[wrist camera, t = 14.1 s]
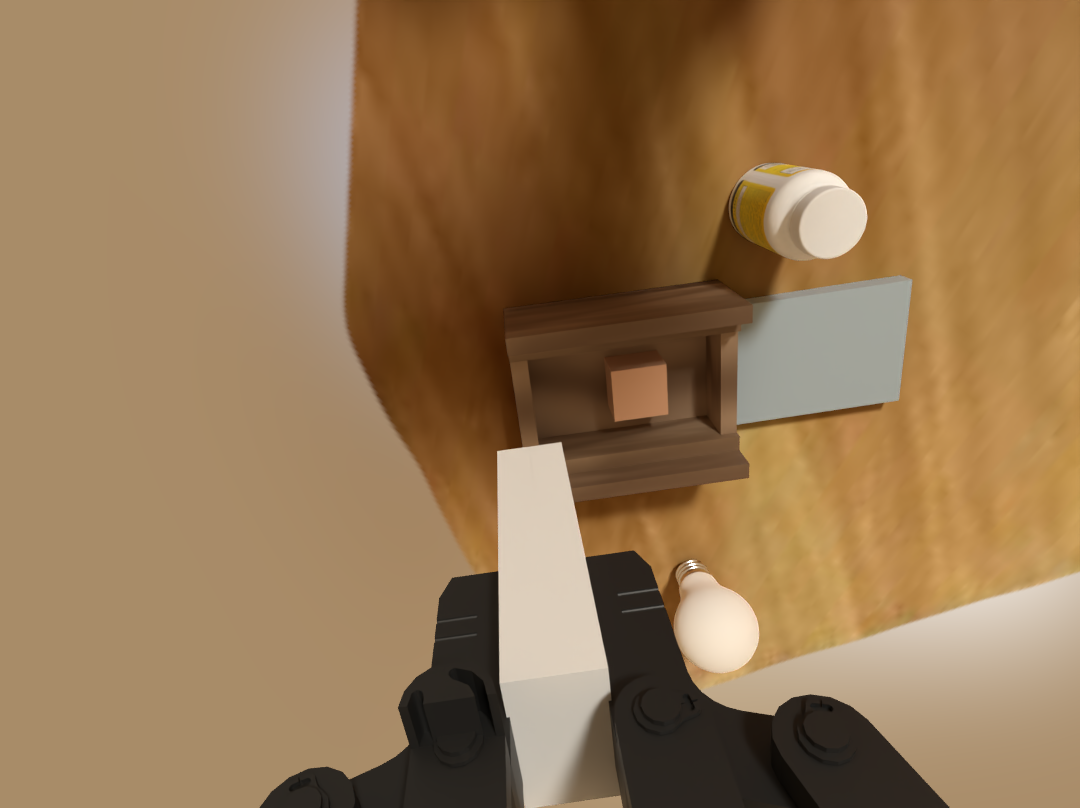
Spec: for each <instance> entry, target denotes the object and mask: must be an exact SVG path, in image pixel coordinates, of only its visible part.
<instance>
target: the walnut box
mask: <svg viewBox="0 0 1080 808" xmlns="http://www.w3.org/2000/svg"><path fill="white" fill-rule="evenodd" d="M749 323H753V305H752V304H751V303H749V302H748V301H747V300H745V299H744V298H742V297H741V296H740V295H738V294H737V293H735V292H734V291H733V290H731V289H730V288H728V287H727V286H726V285H724V284H723V283H722V282H720V281H719V280H711V281H703V282H696V283H689V284H681V285H674V286H667V287H659V288H652V289H645V290H637V291H630V292H623V293H615V294H608V295H601V296H594V297H586V298H579V299H572V300H564V301H557V302H550V303H542V304H535V305H528V306H520V307H513V308H506V309H504V327H505V342H506V348H507V355H508V357H509V362H510V367H511V373H512V380H513V386H514V393H515V400H516V406H517V413H518V419H519V426H520V433H521V439H522V446H523V447H530V446H538V445H545V444H552V443H559V442H561V443H562V448H563V453H564V458H565V462H566V467H567V472H568V477H569V482H570V486H571V491H572V496H573V501H574V502H580V501H587V500H594V499H602V498H609V497H616V496H623V495H630V494H637V493H644V492H652V491H659V490H666V489H673V488H680V487H687V486H694V485H702V484H709V483H716V482H723V481H730V480H737V479H744V478H749V463H748V461H747V460H746V459H745V457H744V456H743V455H742V453H741V452H740V451H739V438H740V436H739V435H738V434H737V371H738V331H741V325H742V324H749ZM654 350H657V351H658V353H659V354H660V356H661V357H662V359H663V360H664V361H665V363H666V366H667V392H668V414H667V415H660V416H653V417H646V418H638V419H631V420H624V421H617V422H615V421H614V418H613V416H612V413H611V411H610V408H609V406H608V397H607V385H606V373H605V361H604V357H610V356H617V355H624V354H632V353H639V352H646V351H654Z"/></svg>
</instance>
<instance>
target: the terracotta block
mask: <svg viewBox="0 0 1080 808" xmlns="http://www.w3.org/2000/svg"><path fill="white" fill-rule="evenodd" d="M604 361H605V373H606V385H607V397H608V406H609V408H610V411H611V413H612V416H613V418H614V421H615V422H617V421H624V420H631V419H638V418H646V417H653V416H660V415H667V414H668V392H667V366H666V363H665V361H664V360H663V359H662V357H661V356H660V354H659V353H658V351H657V350H654V351H646V352H639V353H632V354H624V355H617V356H610V357H604Z"/></svg>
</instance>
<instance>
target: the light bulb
mask: <svg viewBox="0 0 1080 808" xmlns="http://www.w3.org/2000/svg"><path fill="white" fill-rule="evenodd" d="M675 577H676V580H677V582H678V585H679V594H680V598H681V599H680V603H679V605H678V608H677V610H676V613H675V617H674V634H675V637H676V640H677V643H678V646H679V648H680V650H681V651H682V653H683V654H684V655H685V657H686V658H687V659H688V660H689V661H690V662H691V663H693V664H694V665H696V666H697V667H699V668H701V669H703V670H706V671H709V672H713V673H727V672H731V671H734V670H737V669H739V668H740V667H742V666H744V665H745V664H746V663H747V662H748V661H749V660H750V659H751V658H752V656H753V654H754V652H755V650H756V648H757V645H758V640H759V626H758V622H757V618H756V616H755V613H754V612H753V610H752V608H751V607H750V605H749V604H748V603H747V602H746V600H745V599H744V598H742V597H741V596H740V595H739V594H737V593H736V592H734V591H732V590H730V589H727V588H725V587H723V586H721V585H719V584H718V583H717V581H716V580H715V579H714V577H713V576H711V575H710V573H709V570H708V568H707V567H706V566H705V565H704V564H703V563H702V562H701V561H699V560H697V559H690V560H687V561H685V562H683V563H682V564H681V565H679V566H678V568H677V570H676V575H675Z"/></svg>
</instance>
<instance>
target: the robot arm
mask: <svg viewBox="0 0 1080 808" xmlns="http://www.w3.org/2000/svg"><path fill="white" fill-rule="evenodd" d="M497 469H498V571H497V572H490V573H483V574H476V575H469V576H462V577H455V578H452V579H451V581H450V582H449V584H448V585H447V587H446V589H445V590H444V592H443V593H442V595H441V597H440V598H439V606H438V615H437V624H436V632H435V643H434V649H433V659H432V667H431V668H430V669H428V670H427V671H426V672H424V673H422V674H421V675H419V676H418V677H416V678H415V679H414V681H413V682H412V683H411V684H410V685H409V686H408V688H407V689H406V690H405V691H404V694H403V696H402V699H401V701H400V704H399V707H398V709H399V712H400V715H401V719H402V722H403V725H404V729H405V732H406V735H407V738H408V741H409V745H408V747H406V748H405V749H404V750H403V751H402V752H401V753H400V754H398V755H397V756H396V757H394V758H393V759H391V760H389V761H387V762H386V763H384V764H382V765H380V766H378V767H376V768H374V769H371V770H370V771H367V772H365V773H363V774H361V775H358V776H356V777H354V778H352V779H350V780H349V779H348V778H347V777H346V776H345V774H344V773H343V772H341V771H338V770H335V769H332V768H329V767H320V768H311V769H307V770H305V771H303V772H300V773H298V774H296V775H294V776H292V777H289V778H288V779H287V780H286V781H284V782H283V783H282V784H281V785H279V786H278V787H277V788H276V789H274V790H273V791H272V792H271V793H270V795H269V796H268V797H267V799H266V800H265V801H264V803H263V804H262V805H261V806H260V808H524V804H525V808H536V807H543V806H550V805H557V804H564V803H570V802H577V801H584V800H590V799H598V798H605V797H612V796H619V795H621V799H622V804H623V808H949V806H948V805H947V804H946V803H945V802H944V801H943V800H942V799H941V798H940V797H939V796H938V795H937V794H936V793H935V791H933V789H932V788H931V787H930V786H929V785H928V784H927V783H926V782H925V781H924V780H923V779H922V777H921V776H920V775H919V774H918V773H917V772H916V771H915V770H914V769H913V768H912V767H911V766H910V765H909V764H908V762H907V761H905V759H904V758H903V757H902V756H901V755H900V754H899V753H898V752H897V751H896V750H895V748H893V746H892V745H891V744H890V743H889V742H888V741H887V740H886V739H885V738H884V737H883V736H882V735H881V734H880V732H879V731H878V730H877V729H876V728H875V727H874V726H873V725H872V724H871V723H870V722H869V721H868V720H867V719H866V718H865V717H864V716H862V715H861V714H860V713H859V712H857V711H856V710H855V709H854V708H852V707H851V706H849V705H847V704H844V703H842V702H840V701H838V700H835V699H833V698H831V697H825V696H817V695H805V696H799V697H793V698H791V699H790V700H788V701H787V702H785V703H784V704H782V705H781V706H779V708H778V710H777V712H776V714H775V716H772V715H765V714H759V713H752V712H746V711H741V710H736V709H733V708H729V707H726V706H724V705H721V704H719V703H717V702H715V701H713V700H712V699H710V698H709V697H708V696H706V695H705V694H704V693H702V692H701V691H700V690H699V688H698V687H697V686H696V685H695V684H694V683H693V681H692V679H691V677H690V675H689V673H688V672H687V669H686V666H685V663H684V660H683V657H682V655H681V652H680V649H679V646H678V643H677V640H676V637H675V635H674V632H673V629H672V626H671V623H670V620H669V617H668V615H667V612H666V609H665V608H664V603H663V600H662V597H661V594H660V592H659V591H658V586H657V583H656V580H655V577H654V574H653V572H652V569H651V566H650V565H649V564H648V563H646V562H645V561H644V560H643V559H642V558H641V557H640V556H639V555H638V554H637V553H636V552H635V551H627V552H620V553H613V554H606V555H598V556H591V557H585V554H584V549H583V544H582V539H581V535H580V530H579V525H578V520H577V515H576V511H575V506H574V501H573V496H572V491H571V486H570V482H569V477H568V472H567V467H566V462H565V458H564V453H563V448H562V443H561V442H559V443H552V444H545V445H538V446H530V447H523V448H516V449H509V450H502V451H497Z"/></svg>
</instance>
